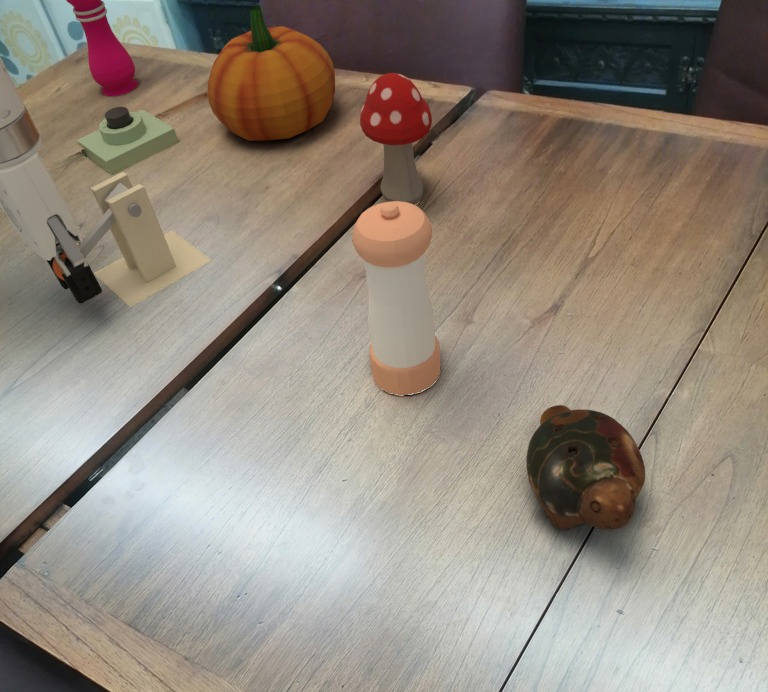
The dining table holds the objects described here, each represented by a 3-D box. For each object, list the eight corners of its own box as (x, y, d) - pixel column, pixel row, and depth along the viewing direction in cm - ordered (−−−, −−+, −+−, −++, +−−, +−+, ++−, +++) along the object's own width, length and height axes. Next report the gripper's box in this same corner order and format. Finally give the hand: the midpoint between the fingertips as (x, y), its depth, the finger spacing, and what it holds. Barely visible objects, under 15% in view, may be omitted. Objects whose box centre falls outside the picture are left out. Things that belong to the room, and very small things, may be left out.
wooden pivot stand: (134, 314, 84) (90, 227, 75) (96, 280, 89) (51, 194, 80) (215, 268, 88) (183, 179, 78) (175, 238, 93) (140, 150, 83)
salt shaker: (452, 360, 74) (447, 190, 58) (420, 405, 71) (405, 239, 55) (394, 341, 77) (374, 174, 61) (360, 384, 73) (329, 219, 58)
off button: (116, 132, 104) (111, 121, 103) (105, 125, 106) (100, 113, 104) (136, 123, 105) (132, 111, 104) (125, 116, 107) (120, 104, 106)
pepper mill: (122, 84, 122) (69, -56, 106) (152, 90, 120) (102, -53, 103) (94, 103, 119) (34, -38, 103) (124, 110, 116) (67, -34, 100)
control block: (112, 175, 104) (100, 149, 101) (82, 154, 109) (70, 128, 106) (179, 142, 108) (169, 115, 105) (147, 122, 113) (138, 97, 110)
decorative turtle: (567, 581, 58) (570, 524, 51) (499, 457, 67) (495, 397, 61) (675, 543, 58) (692, 483, 52) (592, 426, 68) (598, 362, 61)
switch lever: (75, 291, 81) (54, 274, 79) (63, 280, 83) (42, 263, 80) (147, 207, 81) (128, 187, 78) (134, 197, 83) (115, 177, 80)
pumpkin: (262, 168, 101) (233, 54, 89) (197, 126, 110) (163, 18, 98) (365, 115, 107) (351, 2, 94) (294, 80, 116) (273, -28, 104)
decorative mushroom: (448, 203, 91) (444, 80, 79) (389, 226, 89) (376, 104, 77) (414, 170, 96) (405, 50, 84) (358, 190, 95) (341, 71, 83)
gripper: (-67, 126, 71) (27, 277, 86) (-7, 181, 63) (85, 337, 78) (0, 97, 74) (80, 249, 89) (66, 147, 66) (142, 304, 81)
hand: (82, 289), depth 83 cm, fingers closed on switch lever, 3 cm apart
